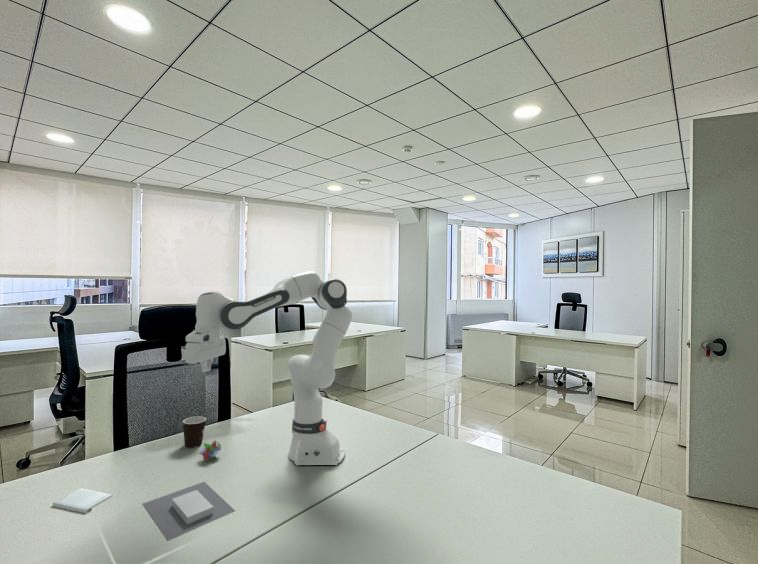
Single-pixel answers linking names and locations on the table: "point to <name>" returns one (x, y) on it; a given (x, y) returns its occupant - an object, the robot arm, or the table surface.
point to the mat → (171, 519)
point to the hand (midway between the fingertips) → (206, 371)
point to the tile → (192, 507)
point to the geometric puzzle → (210, 450)
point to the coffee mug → (193, 431)
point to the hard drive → (81, 500)
